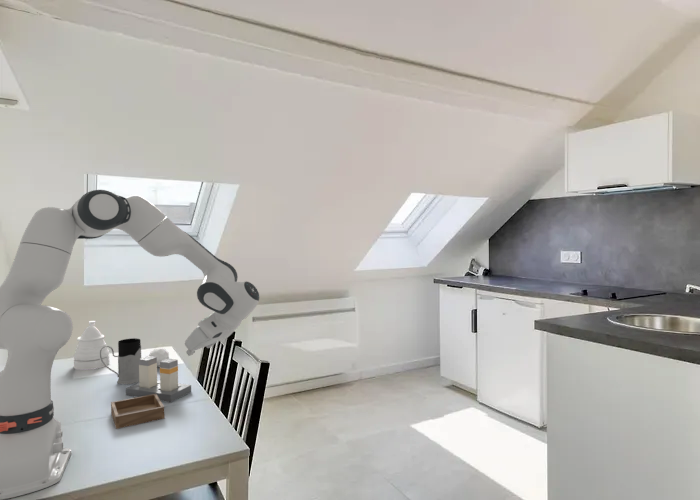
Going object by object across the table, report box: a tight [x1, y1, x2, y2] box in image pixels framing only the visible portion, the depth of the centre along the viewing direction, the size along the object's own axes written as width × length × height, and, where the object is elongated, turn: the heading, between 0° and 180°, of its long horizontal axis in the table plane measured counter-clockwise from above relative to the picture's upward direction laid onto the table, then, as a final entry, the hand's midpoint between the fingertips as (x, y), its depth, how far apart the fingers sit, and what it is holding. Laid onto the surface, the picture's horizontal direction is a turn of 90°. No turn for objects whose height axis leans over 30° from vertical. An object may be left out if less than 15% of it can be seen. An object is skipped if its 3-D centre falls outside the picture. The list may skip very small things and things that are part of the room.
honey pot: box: [73, 320, 111, 371], centre depth 187 cm, size 13×13×18 cm
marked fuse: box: [159, 358, 179, 392], centre depth 154 cm, size 4×4×12 cm
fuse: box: [138, 355, 158, 389], centre depth 157 cm, size 4×4×12 cm
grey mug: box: [100, 337, 142, 385], centre depth 168 cm, size 9×14×15 cm, turn 112°
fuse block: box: [125, 379, 192, 403], centre depth 155 cm, size 19×10×2 cm, turn 70°
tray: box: [110, 394, 166, 430], centre depth 137 cm, size 13×13×4 cm
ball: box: [148, 347, 170, 368], centre depth 186 cm, size 8×8×8 cm
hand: (198, 350), depth 149 cm, fingers open, 8 cm apart
